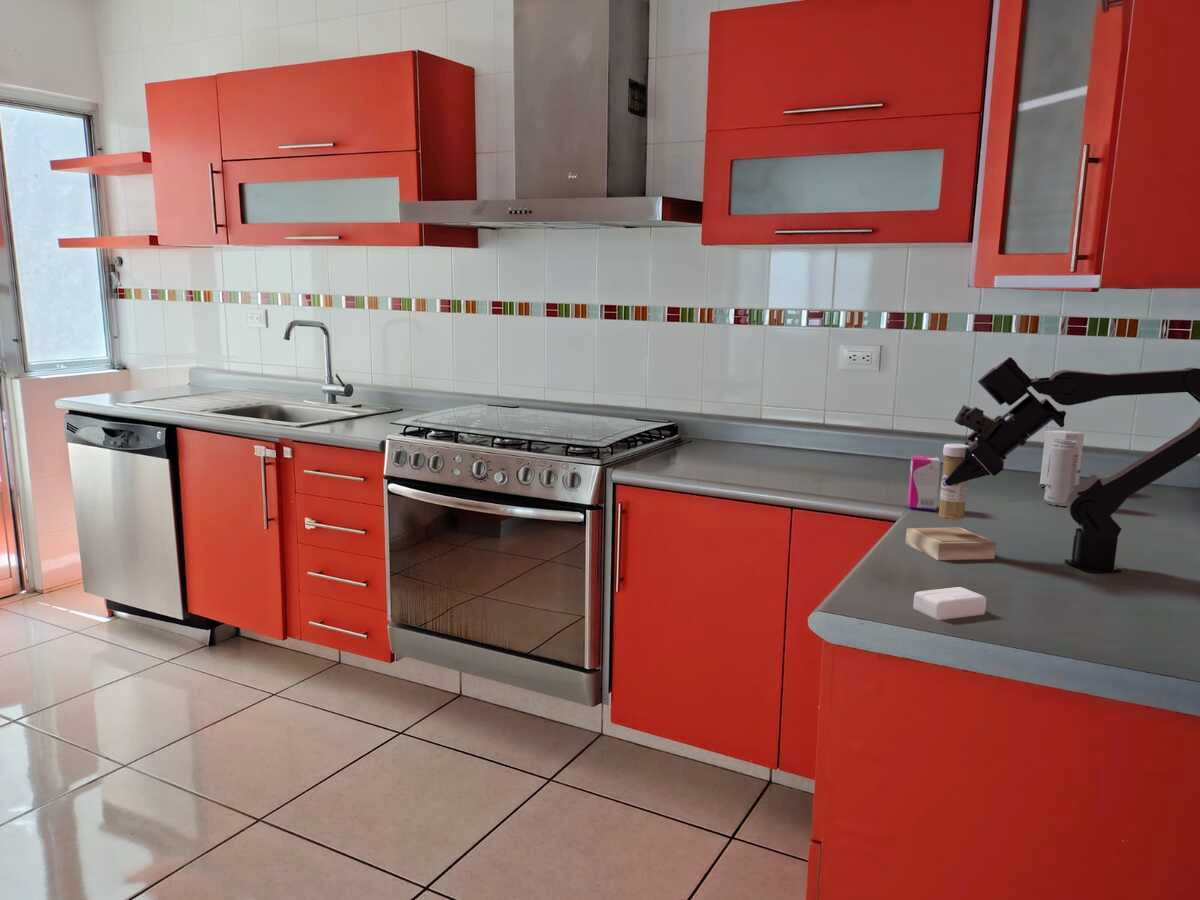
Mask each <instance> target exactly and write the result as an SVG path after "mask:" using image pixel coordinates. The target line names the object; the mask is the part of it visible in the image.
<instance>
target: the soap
mask: <svg viewBox="0 0 1200 900" xmlns="http://www.w3.org/2000/svg"><path fill="white" fill-rule="evenodd" d="M912 606H913V610H914V609H915V610H914V611H916V610H917V611H916V612H919V613H921V614H924V615H925V616H928V617H930V618H932V619H935V620H937V621H945V620H951V619H960V618H968V617H976V616H982V615H985V613H986V609H987V608H986V606H987V598H986V596H985V595H982V594H980V593H977V592H975V591H973V590H969V589H967V588H964V587H962V586H956V587H955V586H953V587H948V588H947V587H946V588H938V589H937V588H936V589H928V590H919V591H916V592H914V595H913V605H912Z"/></svg>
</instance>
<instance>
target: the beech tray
mask: <svg viewBox="0 0 1200 900" xmlns="http://www.w3.org/2000/svg"><path fill="white" fill-rule="evenodd" d="M904 544H905V545H907V546H908V547H911V548H913V549H915V550H917V551H918V552H921V553H923V554H925V555H927V556H928V557H931V558H932V557H933V559H935V560H936V561H957V560H958V561H959V560H961V561H962V560H994V559H995V555H996V548H997V547H996V546H997V545H996V544H997V542H996V541H994V540H991V539H988V538H986V537H984V536H981V535H979V534H977V533H974V532H972V531H969V530H967V529H965V528H963V527H960V526H959V527H957V526H956V527H906V533H905V543H904Z"/></svg>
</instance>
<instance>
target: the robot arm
mask: <svg viewBox="0 0 1200 900" xmlns="http://www.w3.org/2000/svg"><path fill="white" fill-rule="evenodd" d="M977 383H978V384H979V385H980V386H981V387H982V388H983V389H984V390H985V391H986V392H987V393H988V394H989V395H990V396H991V397H992V398H993V400H994V401H996V403H997V404H998V405H999V406H1001V405H1004V404H1006V405H1008V406H1012V405H1013V404H1015V403H1016V402H1018V401H1019V400H1020V399H1021V398H1022V397H1024V396H1025V395H1026V394H1027V395H1028V396H1026V397H1025V398H1024V399H1022V400H1021V401H1020V402H1018V403H1017V404H1015V405H1014V407H1012V408H1011V409H1010V410H1009V411H1008V412H1006V413H1005V414H1004V415H997V416H996V417H994V418H992V417H989V416H987V415H986V414H984V413H985V412H984V410H982V409H980V408H978V407H977V406H975V407H973V408H971V407H969V406H967V405H965V404H963V405H962V407H961V408H960V410H959V411H958V413H957V416H956V417H955V418H954V423H956V424H957V425H959V426H961V427H962V426H963V427H966V428H968V429H969V430H972V432H971V433H970V434H968V435H967V436H966V438H967V440H968V441H970V443H969V442H968V441H967V440H965V441H964V445H968V446H969V447H968V448H967V447H966V448H965V458H964V460H963V461H962V462H961V463H960V464H959V466H958V467H957V468H956V469H955V470H954V471H953V472H952V473H951V474H950V476H949V477H948V478H947V479H946V480H945V483H946V484H947V485H948V486H951V485H954V484H958V483H961V482H965V481H967V482H968V481H971V480H974V479H979V478H983V477H986V476H990V475H992V476H994V477H995V476H996V475H998V474H1000V472H1002V471H1003V470H1004V466H1005V465H1004V463H1005V461H1004V460H1006V459H1007V456H1009V455H1010V454H1011V453H1012V452H1013V451H1014V450H1016V449H1017V448H1019V446H1021V447H1023V446H1024V445H1025V444H1027V440H1028V439H1030V438H1031V437H1033V436H1034V435H1035V434H1037V432H1039V431H1040V430H1041V429H1042V428H1044V427H1045V426H1047V425H1048V424H1049V423H1051V422H1052V421H1054V423H1055V424H1056V425H1058V426H1059V428H1064V427H1065V418H1066V415H1067V412H1066V411H1065V410H1059V409H1057V408H1056V406H1054V405H1053V404H1052V402H1051V401H1049V400H1048V399H1047V398H1044V399H1042V400H1039V399H1038V398H1037V397H1036V396H1035V395H1034V394H1033V393H1032V392H1031V391H1030V390H1029V389H1028V388H1030V387H1031V388H1032V389H1033V390H1034V391H1036V392H1037V394H1041V395H1045V396H1049V398H1051V400H1053V401H1054V402H1056V403H1057V404H1059V405H1061V406H1074V405H1078V404H1083V403H1084V404H1085V403H1088V402H1094V401H1096V400H1100V399H1103V398H1104V399H1105V398H1110V397H1116V396H1117V397H1119V396H1120V397H1121V396H1124V397H1125V396H1139V395H1140V396H1141V395H1156V394H1158V395H1159V394H1179V393H1188V394H1189V395H1190V396H1191V397H1192V398H1193V399H1195V400H1196V401H1197V402H1198V403H1199V404H1200V368H1199V367H1198V368H1197V367H1191V366H1190V367H1187V368H1183V369H1182V368H1181V369H1168V370H1152V371H1151V370H1150V371H1149V370H1148V371H1136V372H1135V371H1134V372H1120V373H1119V372H1118V373H1117V372H1116V373H1101V372H1093V371H1092V372H1090V371H1082V370H1080V371H1079V370H1071V369H1062V370H1057V371H1055V372H1053V374H1051V376H1049V377H1047V376H1046V377H1037V376H1036V377H1035V378H1030V377H1029V376H1028V375H1027V374H1026V372H1025V371H1024V370H1022V369H1021V367H1020V366H1019V365H1018V364H1017V361H1015V359H1014V358H1012V357H1011V356H1009V357H1007V358H1006V359H1005V360H1003V361H1002V362H1000V363H999V364H998V365H996V367H992V368H991V369H990V370H989V371H987V372H986V373H985V374H984V375H983V376H982V377H980V379H979V380H978V381H977ZM1198 455H1200V416H1199V417H1198V419H1196V421H1195V422H1194V423H1193V424H1192V425H1191V427H1189V428H1188V429H1186V430H1185V431H1183V432H1181V433H1179V434H1178V435H1177V436H1175V437H1173V438H1172V439H1170V440H1169V441H1167V442H1165V443H1163V444H1162V445H1160V446H1159V447H1157V448H1155V449H1154V450H1152V451H1151V452H1149V453H1146V455H1144V456H1143V457H1141V458H1139V459H1138V460H1136V461H1134V462H1132V463H1131V464H1130V465H1128V466H1126V467H1125V468H1123V469H1121V470H1120V471H1118V472H1116V473H1115V474H1113V475H1111V476H1108V477H1105V478H1102V479H1100V478H1099V477H1098V476H1097V475H1096V474H1095V473H1093V474H1092V475H1090V476H1089V477H1087V478H1086V479H1085V480H1084V481H1083V482H1081V483H1079V485H1075V486H1073V488H1074V490H1073V491H1072V492H1071V493H1070V494H1069V495H1068V497H1067V501H1066V506H1067V507H1066V509H1067V511H1068V512H1069V514H1070V516H1071V518H1072V519H1073V521H1074V522H1076V523H1077V524H1078V526H1079V527H1077V528H1075V534H1074V536H1073V544H1072V551H1071V552H1072V553H1071V559H1069V558H1068V559H1064V563H1066V564H1068V565H1070V566H1073V567H1076V568H1078V569H1080V570H1082V571H1086V572H1087V573H1113V572H1114V573H1116V572H1120V573H1121V572H1122V570H1123V569H1122V568H1121V567H1119V566H1115V563H1116V555H1117V548H1118V540H1119V535H1120V532H1121V531H1122V528H1121V526H1120V524H1119V523H1118V522H1117V521H1116V520H1115V519H1114V518H1113V517H1112V515H1113V514H1114V513H1116V512H1117V511H1118V510H1119V508H1120V507H1121V506H1122V505H1123V504H1124V503H1125V502H1126V501H1127V499H1128V498H1130V496H1132V495H1134V494H1135V493H1137V492H1139V491H1141V490H1143V489H1144V488H1146V487H1147V486H1148V485H1151V484H1152V483H1153V482H1155V481H1157V480H1158V479H1161V478H1162V477H1163V476H1165V475H1167V474H1168V473H1170V472H1172V471H1173V470H1175V469H1177V468H1178V467H1179V466H1182V465H1183V464H1185V463H1187V462H1188V461H1190V460H1191V459H1193V458H1194V457H1197V456H1198Z"/></svg>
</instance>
